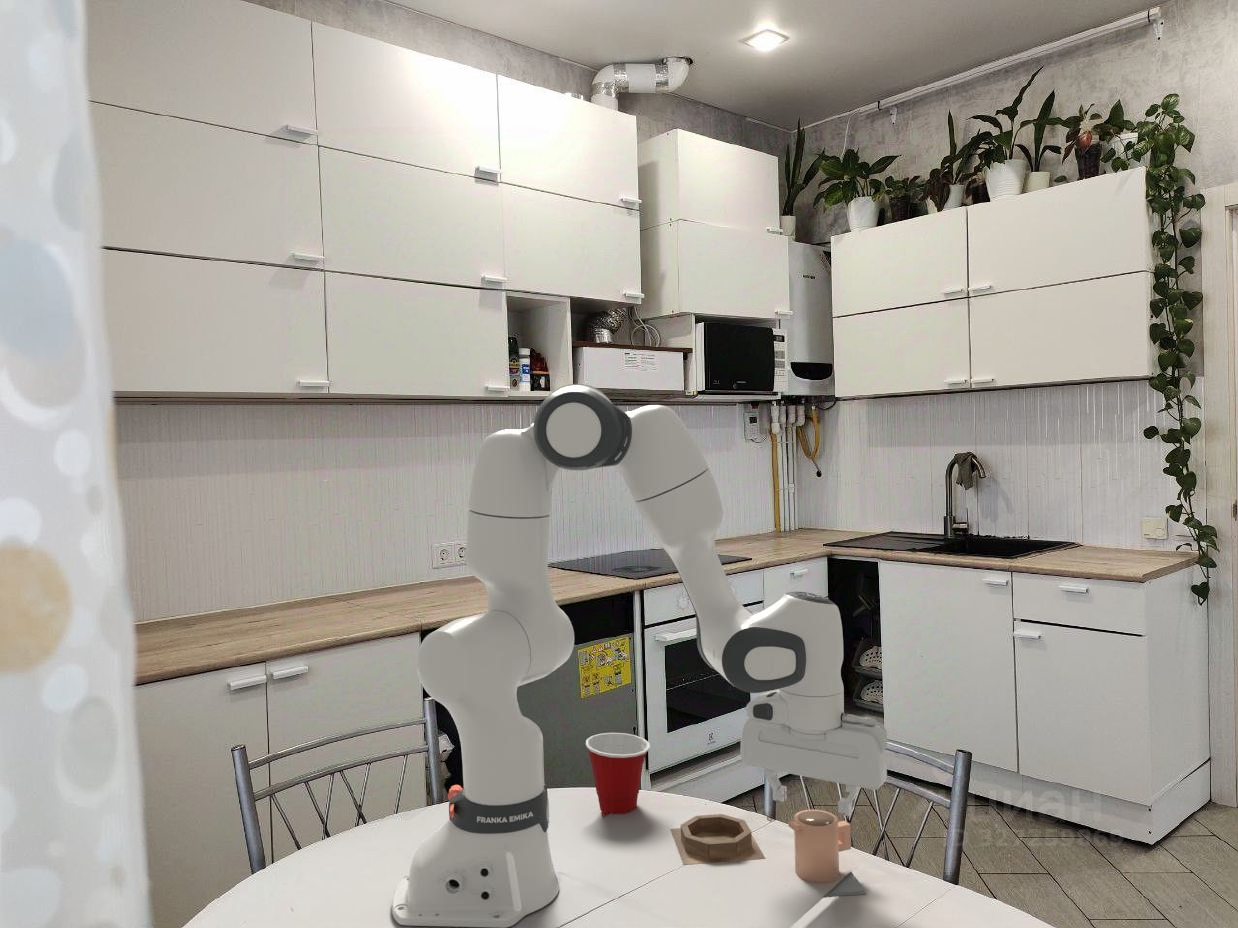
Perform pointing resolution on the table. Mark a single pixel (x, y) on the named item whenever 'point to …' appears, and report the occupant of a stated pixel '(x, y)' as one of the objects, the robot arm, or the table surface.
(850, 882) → the slate mat
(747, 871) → the table surface
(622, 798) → the plastic cup
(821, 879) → the jug
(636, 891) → the table surface
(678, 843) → the holder
